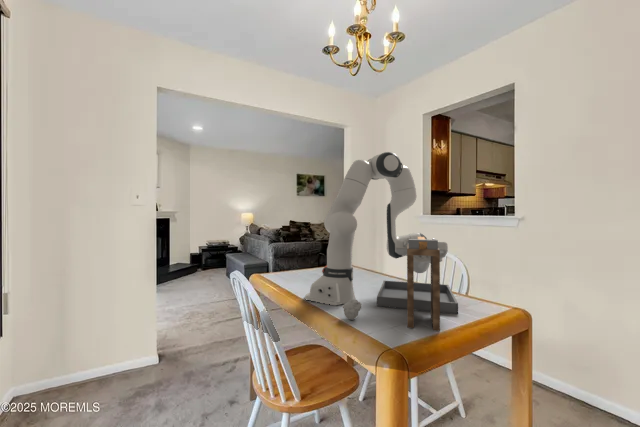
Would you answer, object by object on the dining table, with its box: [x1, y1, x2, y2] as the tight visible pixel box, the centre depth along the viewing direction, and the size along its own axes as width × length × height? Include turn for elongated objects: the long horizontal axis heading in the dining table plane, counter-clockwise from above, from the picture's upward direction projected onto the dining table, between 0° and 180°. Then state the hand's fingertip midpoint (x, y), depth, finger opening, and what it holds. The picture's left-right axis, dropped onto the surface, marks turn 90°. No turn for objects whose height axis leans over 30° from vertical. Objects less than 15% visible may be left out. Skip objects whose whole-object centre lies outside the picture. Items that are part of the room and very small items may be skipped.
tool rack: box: [406, 245, 441, 332], centre depth 98 cm, size 10×12×26 cm
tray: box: [376, 280, 459, 315], centre depth 126 cm, size 30×30×4 cm
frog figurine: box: [341, 299, 363, 321], centre depth 102 cm, size 6×7×7 cm
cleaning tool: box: [409, 236, 439, 250], centre depth 104 cm, size 9×22×3 cm, turn 162°
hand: (421, 240), depth 111 cm, fingers open, 8 cm apart
